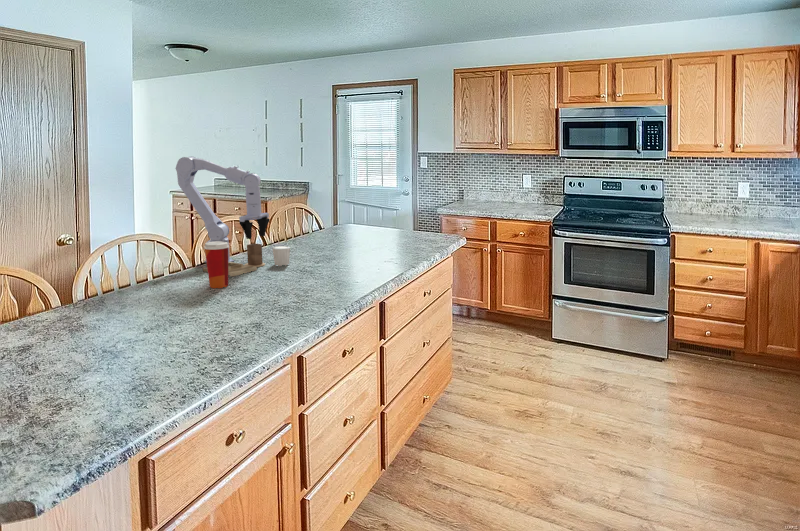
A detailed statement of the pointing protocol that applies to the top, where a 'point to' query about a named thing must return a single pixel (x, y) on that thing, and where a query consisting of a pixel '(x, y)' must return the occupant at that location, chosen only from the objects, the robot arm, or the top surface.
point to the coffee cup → (217, 263)
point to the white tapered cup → (281, 255)
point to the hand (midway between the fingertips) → (255, 237)
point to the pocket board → (237, 269)
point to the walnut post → (254, 254)
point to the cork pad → (255, 266)
